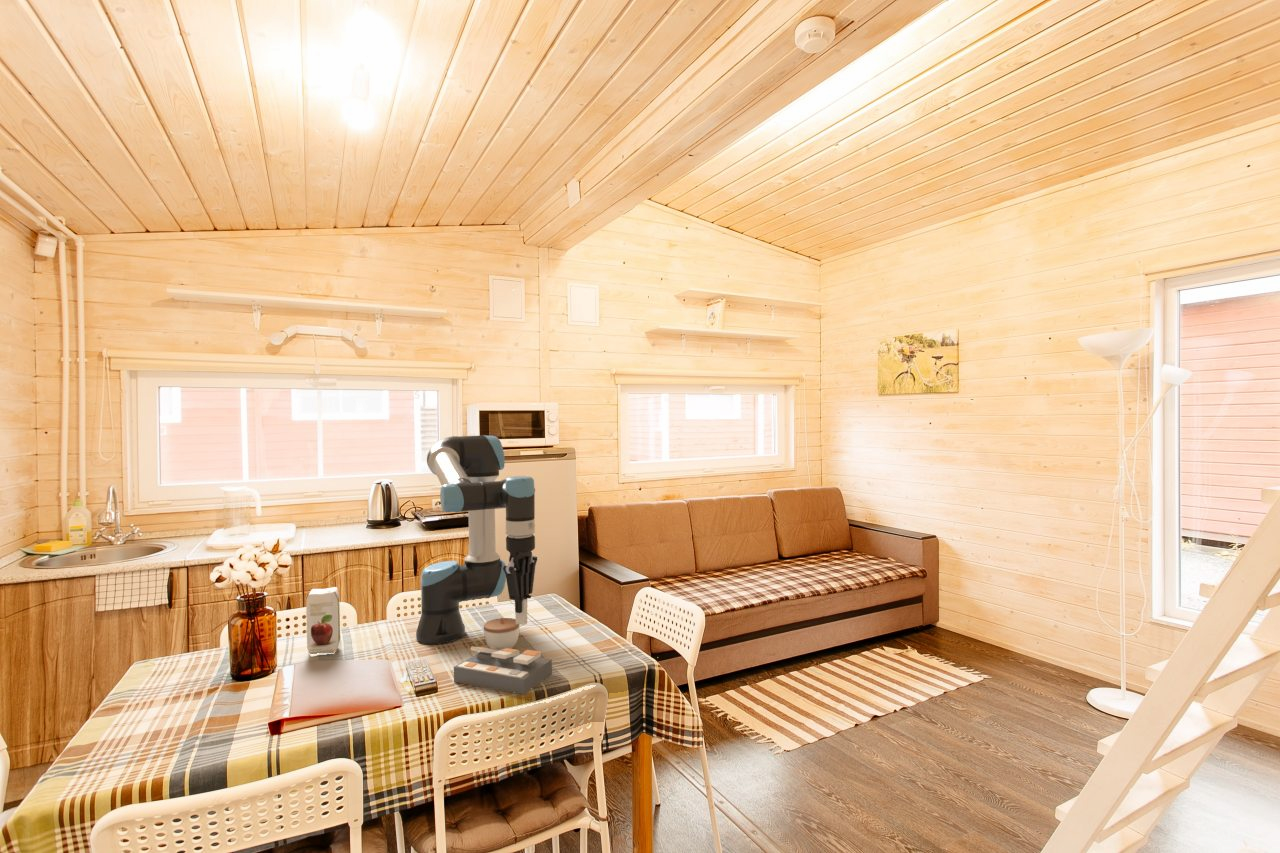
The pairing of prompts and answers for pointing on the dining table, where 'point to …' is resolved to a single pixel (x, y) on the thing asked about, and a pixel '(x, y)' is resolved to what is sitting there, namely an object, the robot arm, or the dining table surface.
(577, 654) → the dining table surface
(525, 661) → the switch
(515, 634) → the lidded jar
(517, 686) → the switch unit
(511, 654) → the switch
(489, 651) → the switch
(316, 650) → the juice carton
